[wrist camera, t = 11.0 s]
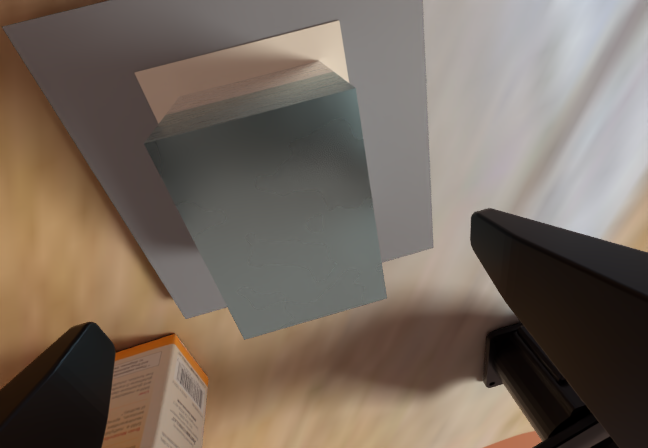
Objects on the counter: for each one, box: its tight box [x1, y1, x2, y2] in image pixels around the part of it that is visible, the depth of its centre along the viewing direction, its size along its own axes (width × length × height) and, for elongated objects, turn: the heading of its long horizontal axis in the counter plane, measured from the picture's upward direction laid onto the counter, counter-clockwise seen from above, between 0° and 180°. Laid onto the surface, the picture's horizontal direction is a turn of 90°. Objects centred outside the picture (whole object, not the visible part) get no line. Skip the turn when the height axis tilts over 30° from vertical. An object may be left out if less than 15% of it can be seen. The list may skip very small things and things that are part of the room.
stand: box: [2, 0, 433, 319], centre depth 15 cm, size 13×13×2 cm
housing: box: [144, 61, 387, 340], centre depth 12 cm, size 5×7×5 cm
